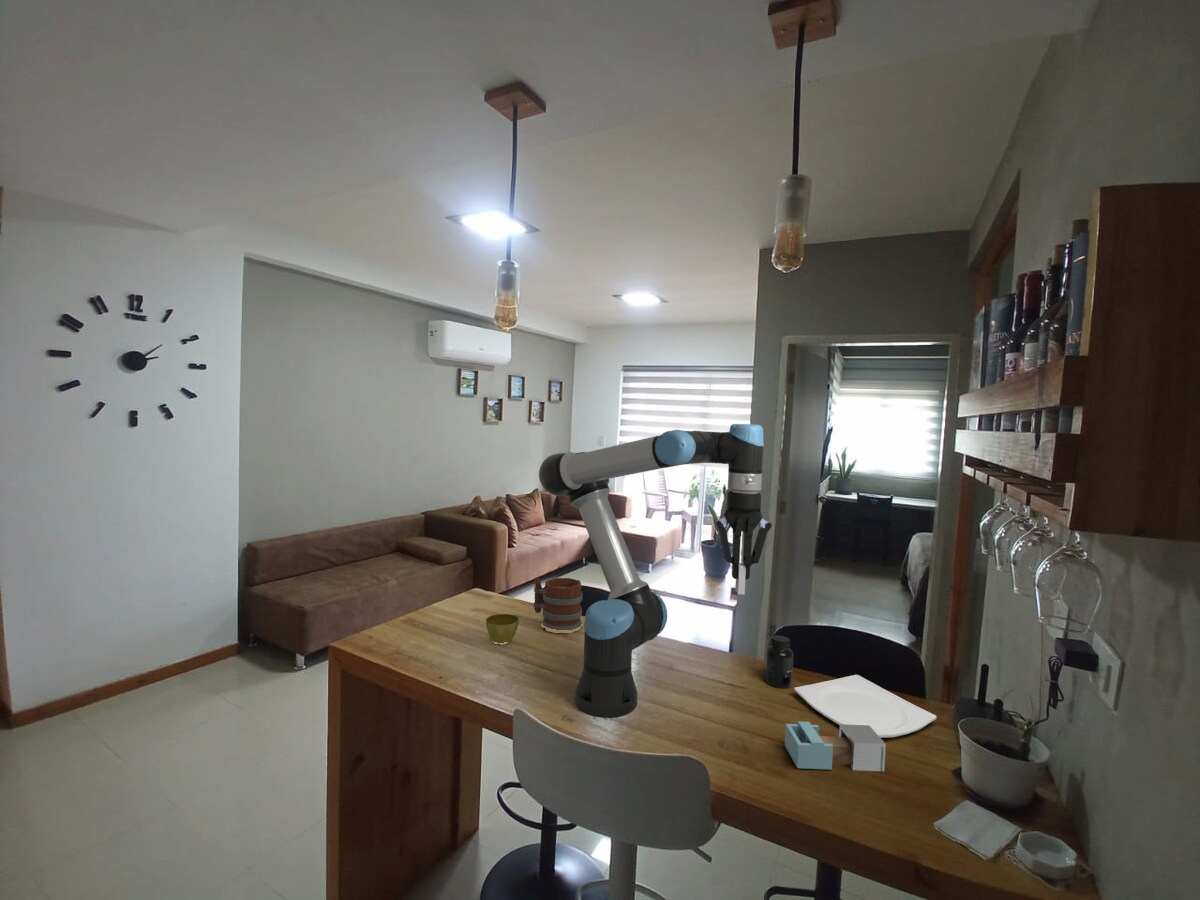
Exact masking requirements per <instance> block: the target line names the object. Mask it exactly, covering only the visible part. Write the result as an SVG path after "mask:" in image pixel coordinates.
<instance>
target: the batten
mask: <svg viewBox="0 0 1200 900" xmlns="http://www.w3.org/2000/svg"><path fill="white" fill-rule="evenodd" d="M819 736H820V738H821V739H822V741H823V742H824V744H832V746H833V757H832V766H833V765H834V766H835V765H836V766H837V765H839V766H851V759H852V742H851V741H850V740H849V738H848V737H839V736H830V735H829V736H827V735H826V736H825V735H819ZM807 743H810V742H809V741H808V739H807Z"/></svg>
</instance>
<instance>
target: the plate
mask: <svg viewBox="0 0 1200 900" xmlns="http://www.w3.org/2000/svg"><path fill="white" fill-rule="evenodd" d="M793 689H794V691H795V693H796V694H798V696H800V697H801V698H802V699H803V700H804V701H805V702H806V703H807V704H808V705H810V707H811V708H813V709H814V710H816V711H817V712H818V713H820V714H821V715H823V716H824V717H825V718H828V720H830V721H832V722H834V723H835V724H837V725H839V726H840V724H845V725H869V726H870V727H871V728H872V729H873V730H874V731H875V732H876V734H877V735H878V736H879V737H880V738H881V739H882V738H896V737H900V736H904V735H908V734H911V733H915V732H917V731H919V730H922V729H923V728H924V727H927V725H928V724H931V723H932V722H934V721H935V720H937V719H938V718H937V715H935V714H934V713H932V712H930V711H929V710H928V711H927V710H925V709H924V708H921V707H919V706H917V705H915V704H913V703H911V702H909V701H907V700H905V699H904V698H903V697H902V698H901V697H900V696H898V695H896V694H894V693H892V692H890V691H888V690H886V689H884V688H883V687H881V686H879V685H878V684H875V683H874V682H872V681H870V680H868V679H866V678H864V677H862V676H861V675H859V674H854V675H849V676H848V675H847V676H844V677H840V678H836V679H830V680H827V681H826V680H824V681H821V682H816V683H812V684H807V685H802V686H801V685H800V686H797V687H796V686H795V687H794V688H793Z"/></svg>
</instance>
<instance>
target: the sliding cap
mask: <svg viewBox="0 0 1200 900" xmlns="http://www.w3.org/2000/svg"><path fill="white" fill-rule="evenodd" d="M784 728H785V729H784V747H785V749H786V751H787V752H788V754H789V756H790V757H791V759H792V761H793V763H794V765H795V767H796V768H797V769H806V770H807V769H810V770H833V764H832V757H833V746H832V744H824V742H823V741H822V739H821V738H820V736H821V735H820V726H819V725H818V724H811V722H810V721H797V723H785V727H784ZM807 739H808V741H809V742H810V743H807Z"/></svg>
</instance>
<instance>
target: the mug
mask: <svg viewBox="0 0 1200 900" xmlns="http://www.w3.org/2000/svg"><path fill="white" fill-rule="evenodd" d="M533 592H534V601H533V608H534V611H535V613H536V614H540V613H541V611H542V617H543V620H542V621H543V622H541V623H543V625H544V626H546V627H548V628H551V629H556V630H573V629H576V628H578V627H580V626H581V624H583V622H582V620H581V617H582V616H583V609H582V607H581V602H582V601H583V592H582V582H581V580H579V579H575V578H571V577H553V578H551V579H550V578H549V579H548V580H546V581H545V582H544V588H543V587H542V582H541V580H540V578H539V577H534V588H533ZM542 601H544V603H543V602H542Z"/></svg>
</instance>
